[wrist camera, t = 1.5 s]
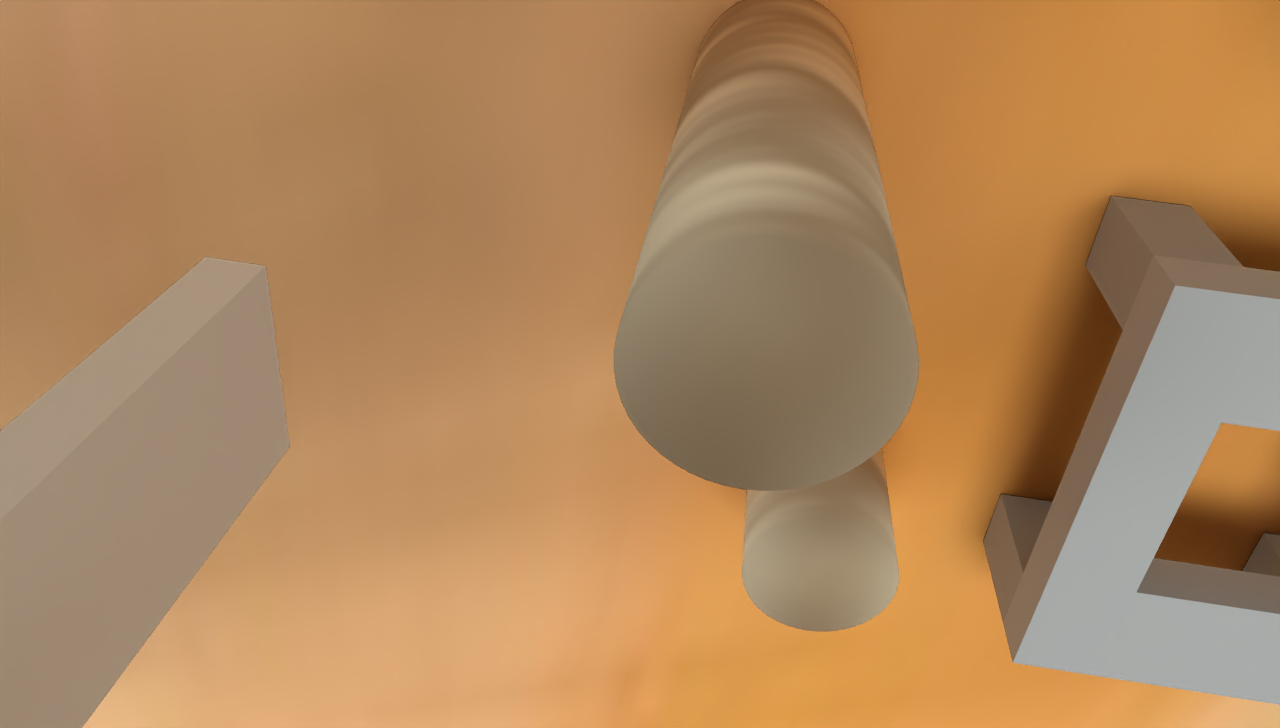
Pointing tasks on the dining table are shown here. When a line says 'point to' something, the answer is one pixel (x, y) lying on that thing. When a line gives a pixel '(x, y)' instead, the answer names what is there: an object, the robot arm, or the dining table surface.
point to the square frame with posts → (1152, 475)
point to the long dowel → (769, 266)
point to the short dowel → (822, 550)
